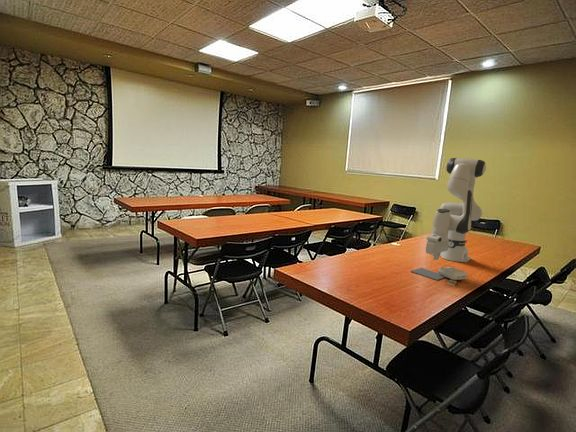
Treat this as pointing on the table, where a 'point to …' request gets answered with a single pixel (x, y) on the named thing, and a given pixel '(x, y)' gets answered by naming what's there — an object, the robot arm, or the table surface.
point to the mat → (428, 274)
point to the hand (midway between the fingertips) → (435, 259)
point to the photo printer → (452, 273)
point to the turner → (451, 282)
